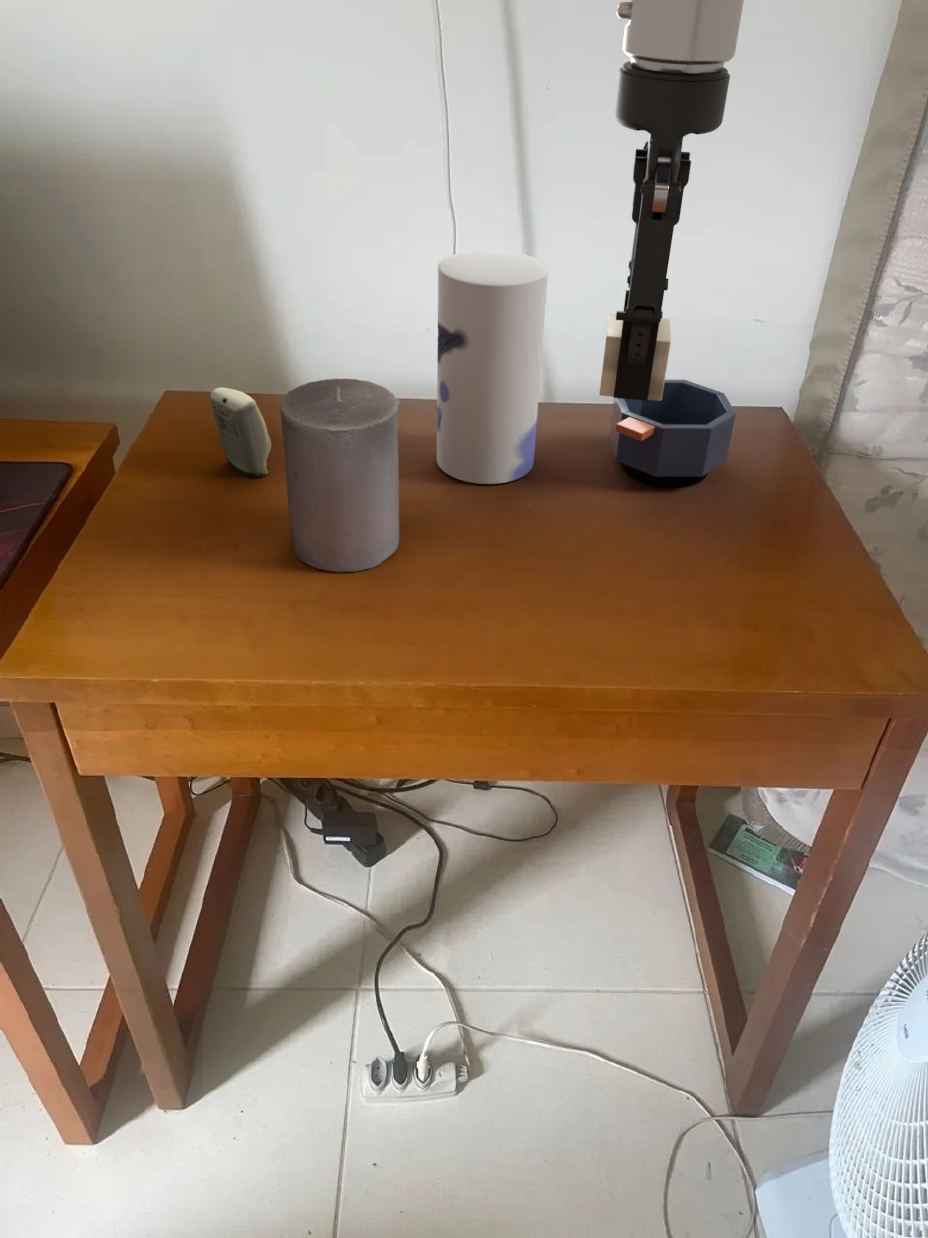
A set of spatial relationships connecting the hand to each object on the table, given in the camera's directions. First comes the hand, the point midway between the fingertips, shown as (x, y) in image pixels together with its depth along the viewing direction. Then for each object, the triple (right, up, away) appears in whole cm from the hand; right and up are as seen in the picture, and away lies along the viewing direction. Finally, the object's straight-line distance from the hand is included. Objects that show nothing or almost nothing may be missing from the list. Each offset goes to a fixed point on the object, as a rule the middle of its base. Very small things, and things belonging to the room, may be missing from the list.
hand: (631, 382), depth 81 cm
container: (-12, -4, +20) cm, 24 cm away
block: (0, 0, 0) cm, 0 cm away
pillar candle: (-24, -13, +7) cm, 29 cm away
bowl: (+6, -3, +18) cm, 20 cm away
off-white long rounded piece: (-36, -4, +18) cm, 40 cm away
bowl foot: (+7, -4, +20) cm, 22 cm away
